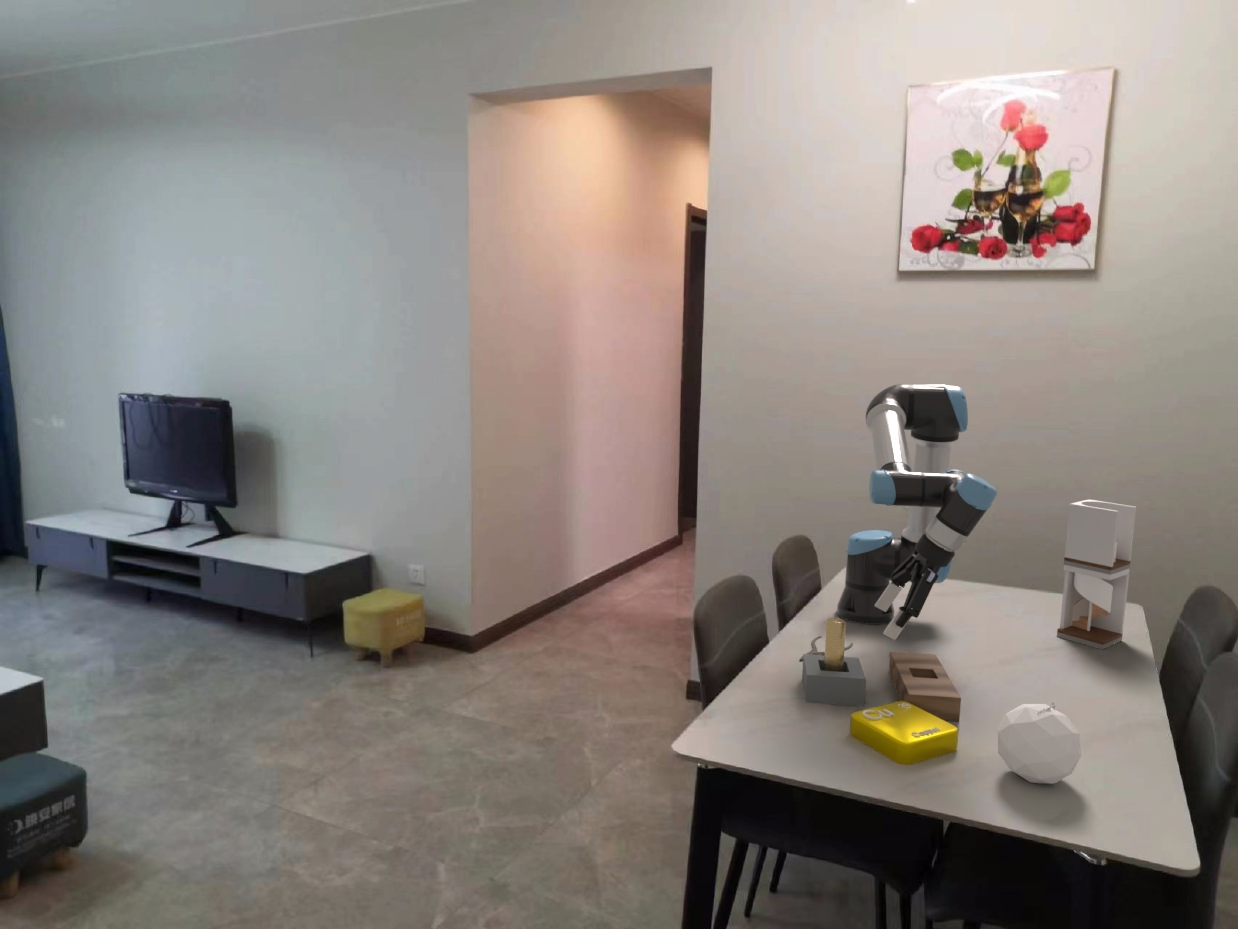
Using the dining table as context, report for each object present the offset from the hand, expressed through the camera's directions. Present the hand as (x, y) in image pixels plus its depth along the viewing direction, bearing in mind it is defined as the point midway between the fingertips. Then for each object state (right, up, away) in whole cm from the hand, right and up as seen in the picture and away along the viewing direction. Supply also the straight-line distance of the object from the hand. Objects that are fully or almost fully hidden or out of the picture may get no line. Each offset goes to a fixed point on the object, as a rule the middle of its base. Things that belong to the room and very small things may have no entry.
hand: (884, 622), depth 189 cm
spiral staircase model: (+64, -11, +36) cm, 74 cm away
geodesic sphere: (+16, -21, -35) cm, 44 cm away
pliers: (-7, -12, +24) cm, 27 cm away
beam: (+8, -16, -1) cm, 17 cm away
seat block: (-11, -15, -1) cm, 19 cm away
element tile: (-3, -19, -22) cm, 29 cm away
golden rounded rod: (-11, -15, -1) cm, 19 cm away
